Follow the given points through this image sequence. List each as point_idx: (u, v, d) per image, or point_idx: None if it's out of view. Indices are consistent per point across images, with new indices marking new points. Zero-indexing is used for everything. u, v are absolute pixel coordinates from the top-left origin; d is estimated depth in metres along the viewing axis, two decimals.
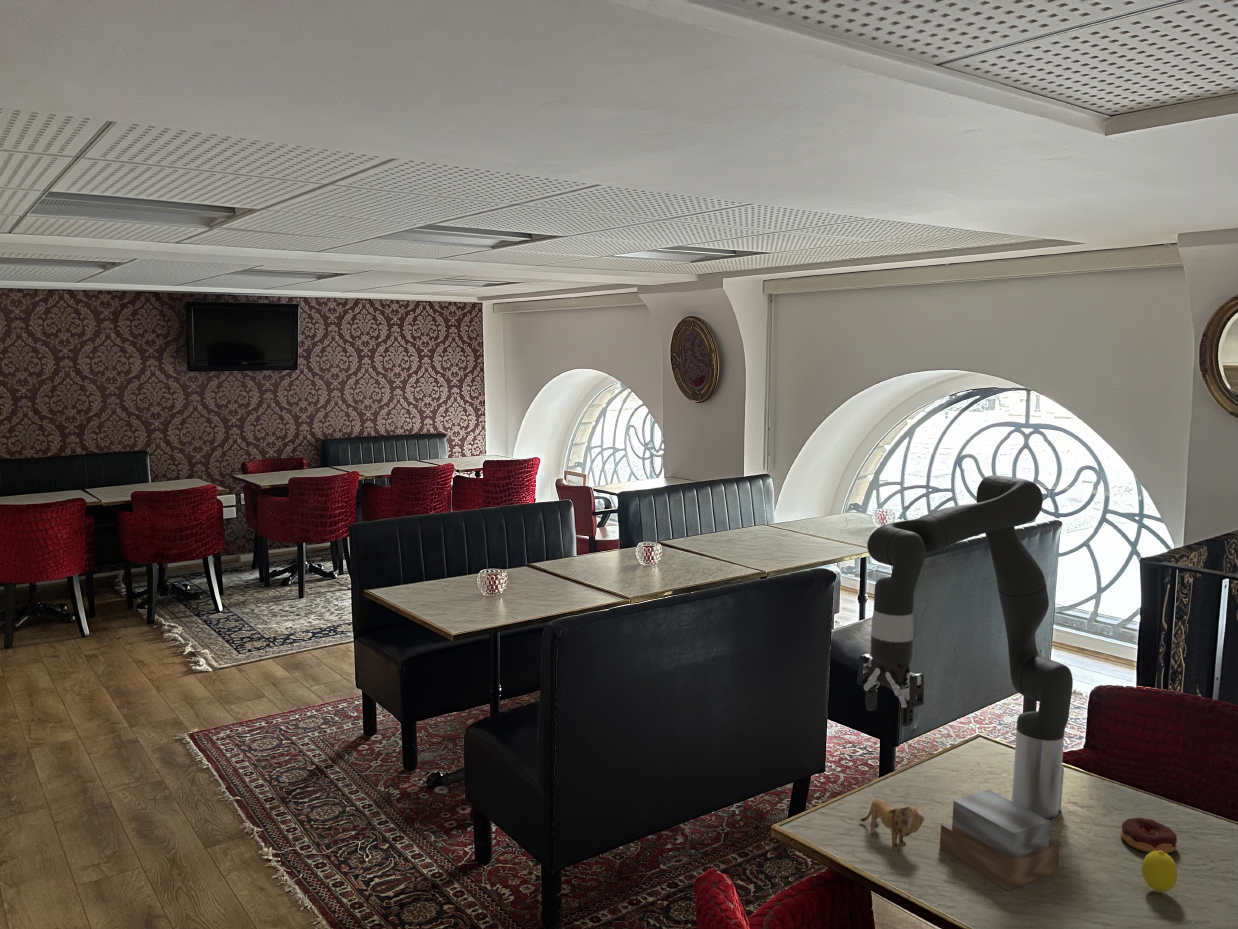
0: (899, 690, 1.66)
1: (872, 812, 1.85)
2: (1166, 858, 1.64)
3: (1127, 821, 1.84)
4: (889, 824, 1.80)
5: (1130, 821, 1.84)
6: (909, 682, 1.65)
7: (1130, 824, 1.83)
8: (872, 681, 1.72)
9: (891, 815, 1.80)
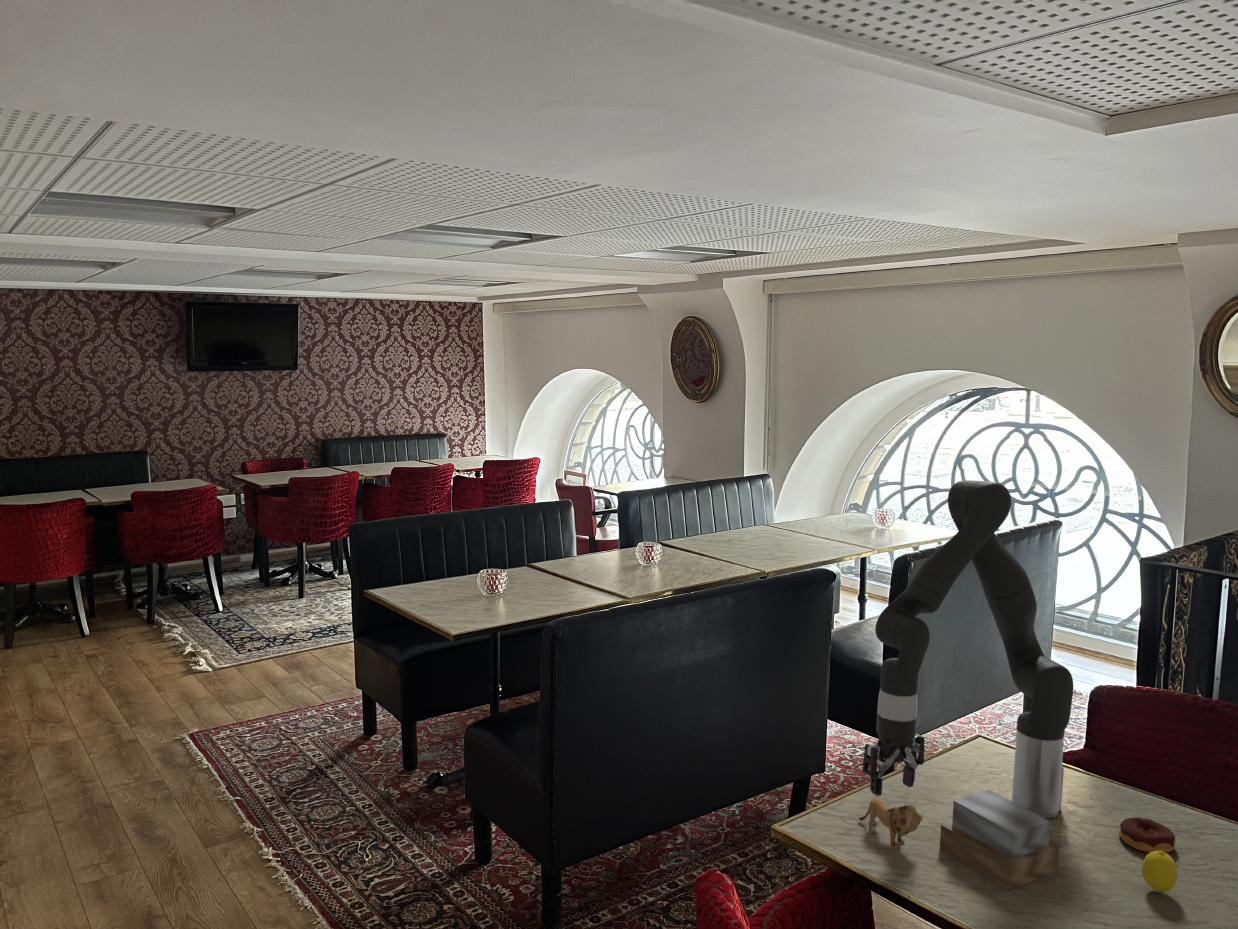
0: None
1: (870, 811, 1.85)
2: (1166, 858, 1.64)
3: (1125, 821, 1.85)
4: (888, 823, 1.81)
5: (1128, 821, 1.84)
6: (920, 744, 1.82)
7: (1129, 824, 1.83)
8: (890, 765, 1.78)
9: (890, 814, 1.80)
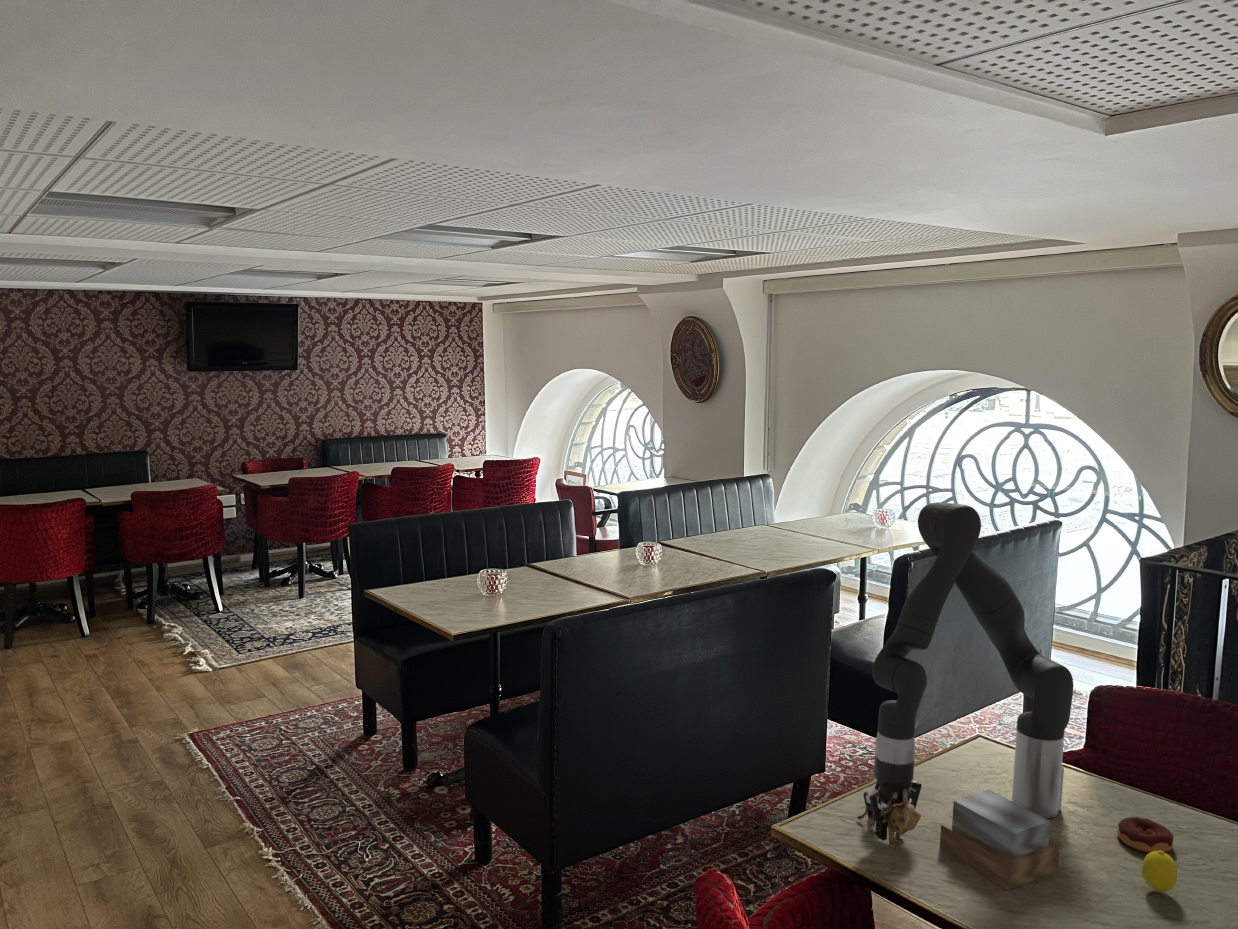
0: None
1: None
2: (1166, 858, 1.64)
3: (1124, 820, 1.85)
4: None
5: (1127, 820, 1.84)
6: (916, 790, 1.83)
7: (1127, 824, 1.83)
8: (891, 808, 1.79)
9: None
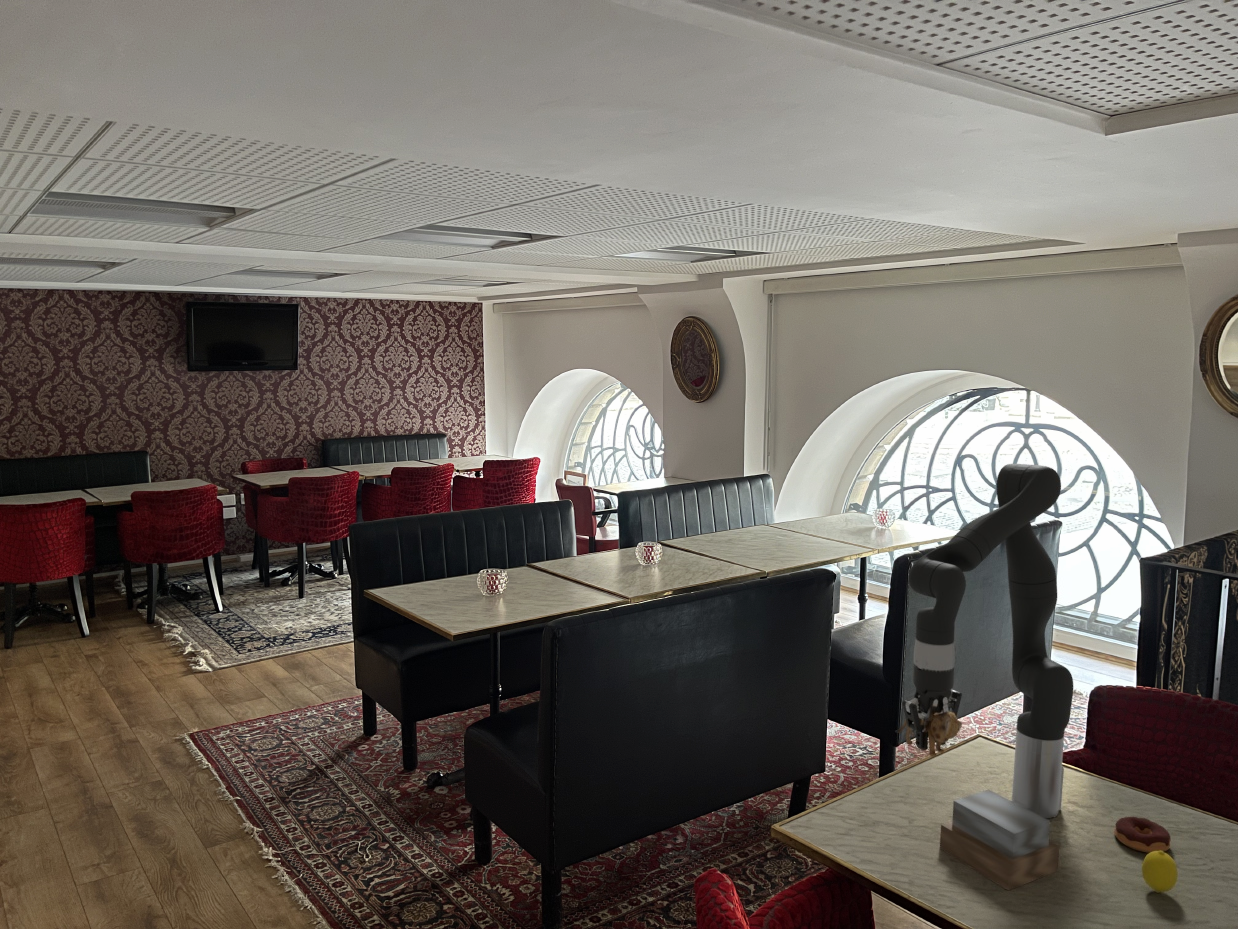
0: None
1: None
2: (1166, 858, 1.64)
3: (1121, 820, 1.85)
4: None
5: (1124, 820, 1.85)
6: (956, 699, 1.79)
7: (1124, 823, 1.83)
8: (932, 716, 1.75)
9: None
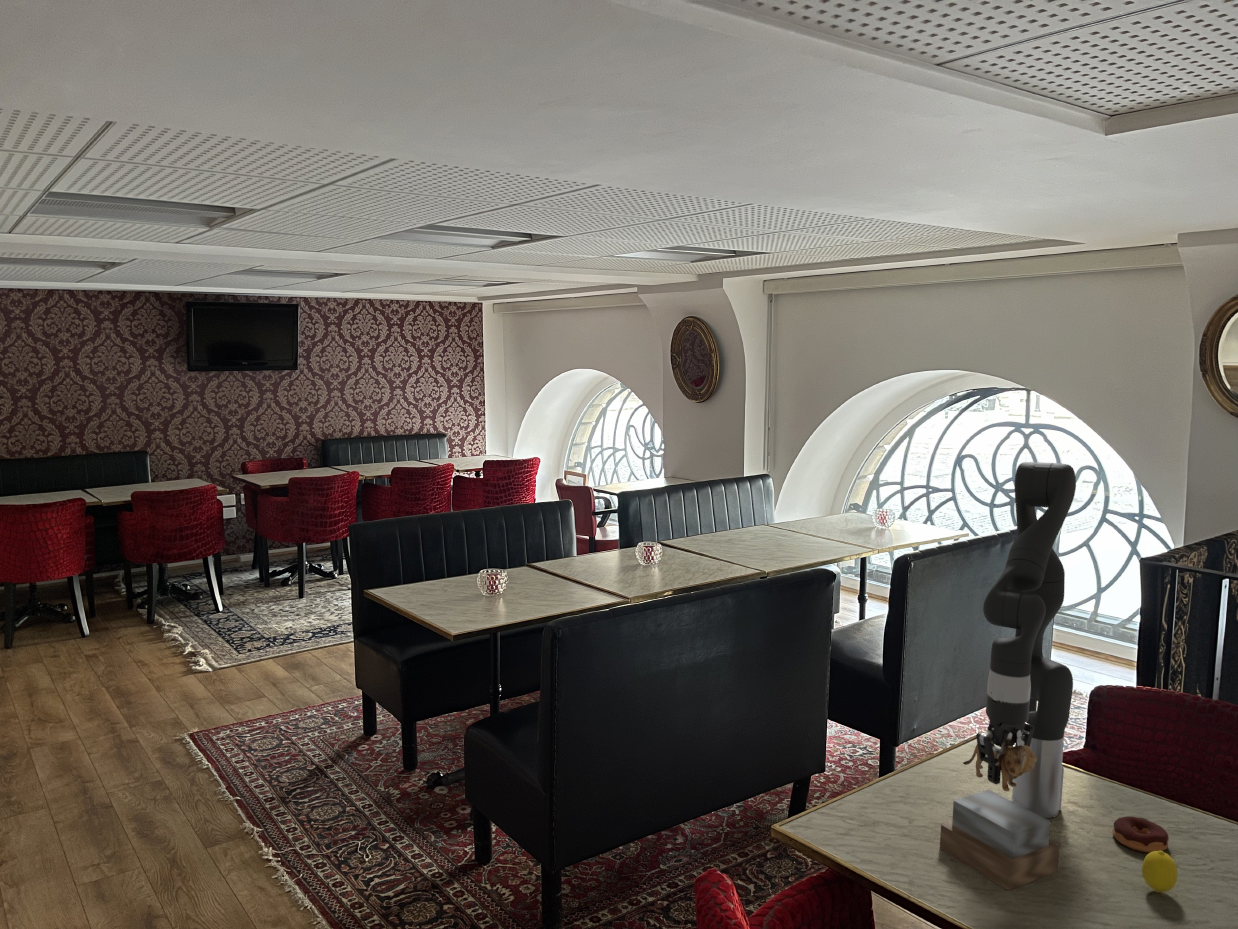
0: None
1: (978, 754, 1.77)
2: (1166, 858, 1.64)
3: (1119, 819, 1.85)
4: None
5: (1122, 820, 1.85)
6: (1029, 732, 1.74)
7: (1122, 823, 1.83)
8: (1006, 750, 1.71)
9: None
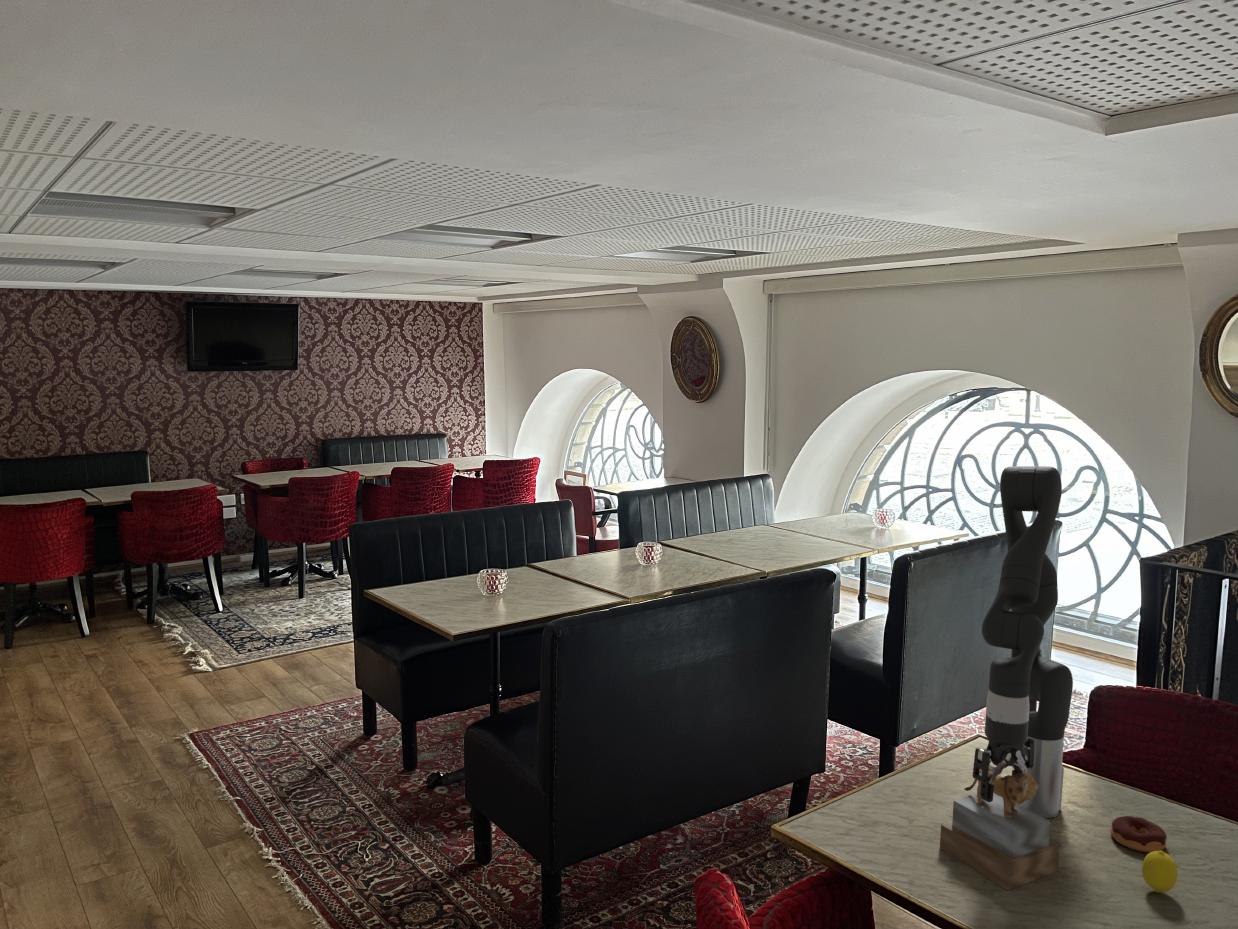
0: None
1: None
2: (1166, 858, 1.64)
3: (1117, 819, 1.85)
4: (1001, 792, 1.73)
5: (1120, 819, 1.85)
6: (1030, 747, 1.75)
7: (1120, 823, 1.84)
8: (1001, 769, 1.71)
9: (1003, 782, 1.73)
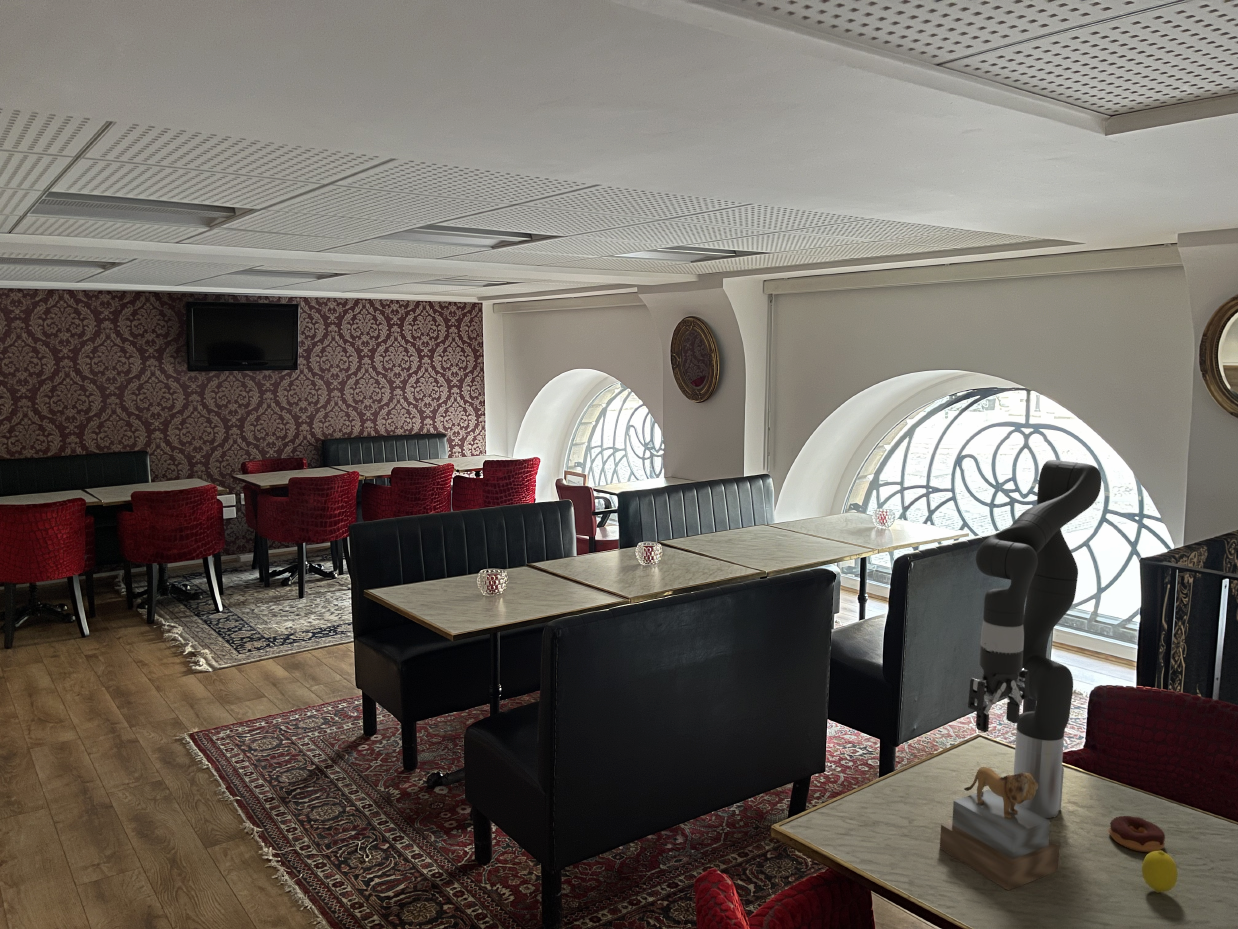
0: None
1: (979, 780, 1.77)
2: (1166, 858, 1.64)
3: (1116, 819, 1.85)
4: (1001, 792, 1.73)
5: (1118, 819, 1.85)
6: (1024, 678, 1.75)
7: (1119, 822, 1.84)
8: (997, 699, 1.71)
9: (1003, 782, 1.73)
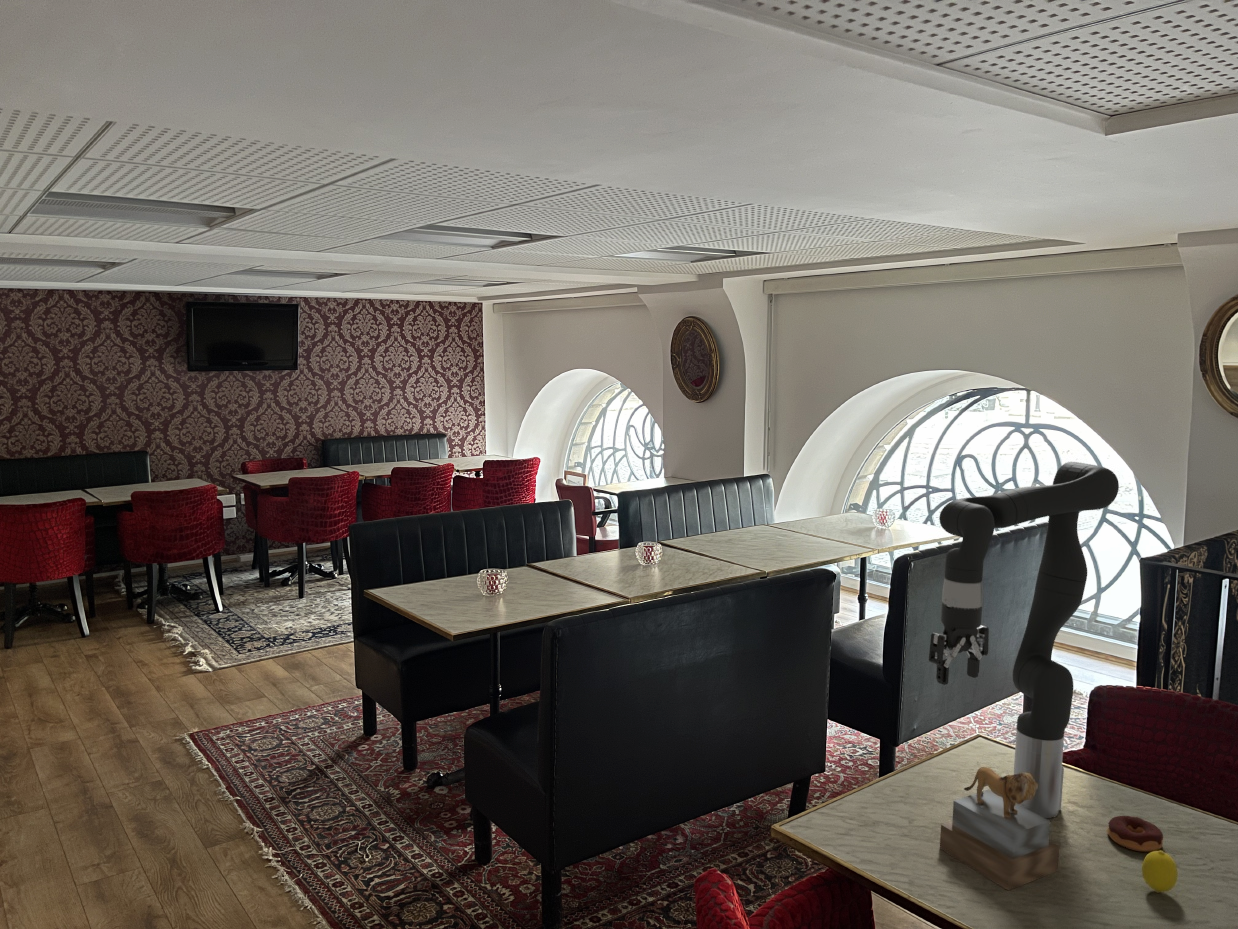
0: None
1: (979, 780, 1.77)
2: (1166, 858, 1.64)
3: (1114, 819, 1.85)
4: (1001, 792, 1.73)
5: (1117, 819, 1.85)
6: (984, 634, 1.83)
7: (1117, 822, 1.84)
8: (956, 653, 1.79)
9: (1003, 782, 1.73)
